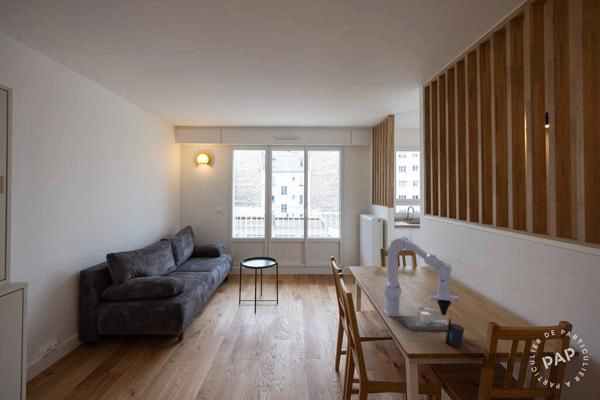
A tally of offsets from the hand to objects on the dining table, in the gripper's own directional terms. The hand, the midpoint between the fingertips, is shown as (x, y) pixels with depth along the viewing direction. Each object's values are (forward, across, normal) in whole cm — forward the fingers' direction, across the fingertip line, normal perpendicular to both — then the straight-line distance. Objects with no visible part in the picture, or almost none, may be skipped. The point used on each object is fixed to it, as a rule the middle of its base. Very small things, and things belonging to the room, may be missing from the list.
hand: (443, 314), depth 153 cm
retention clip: (+5, -4, +6) cm, 9 cm away
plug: (+7, -8, +3) cm, 11 cm away
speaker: (+7, -3, -16) cm, 18 cm away
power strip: (+7, -7, +4) cm, 11 cm away
